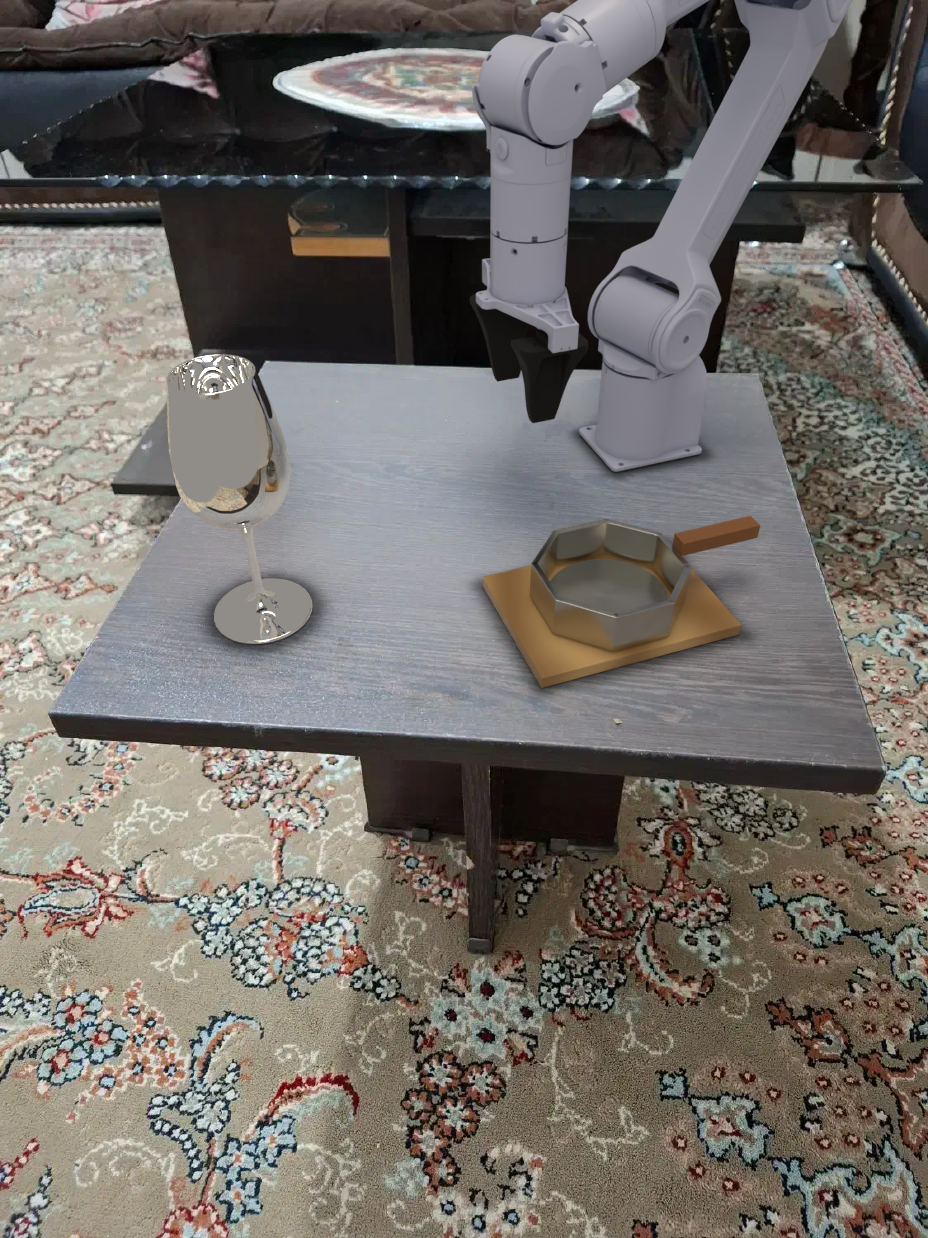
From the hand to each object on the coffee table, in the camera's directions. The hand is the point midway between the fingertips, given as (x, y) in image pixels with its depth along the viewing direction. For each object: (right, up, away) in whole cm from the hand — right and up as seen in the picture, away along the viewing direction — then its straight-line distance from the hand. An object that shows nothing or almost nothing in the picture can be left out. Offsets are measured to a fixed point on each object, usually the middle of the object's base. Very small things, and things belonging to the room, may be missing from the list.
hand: (523, 397), depth 75 cm
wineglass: (-21, -18, -5) cm, 28 cm away
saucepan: (+9, -16, -6) cm, 20 cm away
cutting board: (+6, -18, -6) cm, 20 cm away
